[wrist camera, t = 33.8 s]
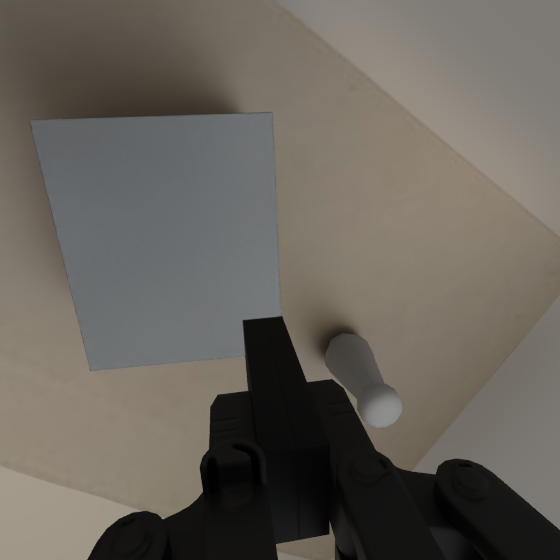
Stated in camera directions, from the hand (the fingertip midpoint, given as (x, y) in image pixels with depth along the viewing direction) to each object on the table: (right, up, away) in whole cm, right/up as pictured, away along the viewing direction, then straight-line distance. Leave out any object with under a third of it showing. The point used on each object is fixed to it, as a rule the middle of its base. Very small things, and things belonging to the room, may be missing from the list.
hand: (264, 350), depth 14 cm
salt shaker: (+9, -6, +34) cm, 35 cm away
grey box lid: (-8, +5, +15) cm, 18 cm away
